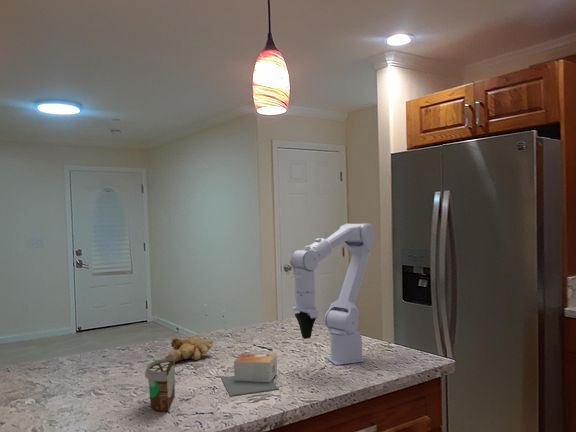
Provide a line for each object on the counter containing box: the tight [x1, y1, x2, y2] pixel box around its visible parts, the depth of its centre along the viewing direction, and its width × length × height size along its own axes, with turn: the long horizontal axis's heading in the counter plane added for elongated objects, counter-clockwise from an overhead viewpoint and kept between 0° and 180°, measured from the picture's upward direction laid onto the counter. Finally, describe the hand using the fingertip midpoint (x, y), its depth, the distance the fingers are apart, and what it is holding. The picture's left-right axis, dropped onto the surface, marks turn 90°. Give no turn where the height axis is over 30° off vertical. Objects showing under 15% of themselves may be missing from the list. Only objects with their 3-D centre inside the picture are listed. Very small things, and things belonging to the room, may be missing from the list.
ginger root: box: [165, 336, 214, 362], centre depth 155 cm, size 16×16×8 cm
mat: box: [220, 375, 280, 397], centre depth 129 cm, size 13×14×1 cm
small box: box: [233, 352, 278, 382], centre depth 133 cm, size 8×6×10 cm
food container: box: [144, 357, 176, 413], centre depth 116 cm, size 12×6×10 cm, turn 5°
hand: (306, 337), depth 137 cm, fingers closed
